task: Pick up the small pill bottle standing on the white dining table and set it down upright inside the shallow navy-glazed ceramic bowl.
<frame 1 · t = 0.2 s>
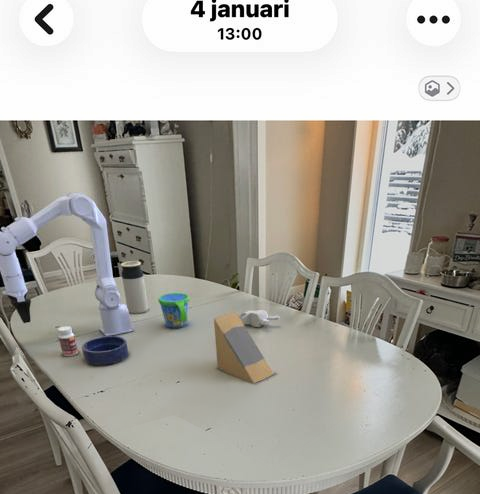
hand: (25, 319, 149), 10 cm above the table, tool pointing down, fingers open, 7 cm apart
travel mug: (138, 311, 185), on the table
snack cup: (176, 325, 169), on the table
sandwich container: (245, 371, 134), on the table
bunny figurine: (257, 325, 166), on the table
pill bottle: (70, 354, 150), on the table
bowl: (107, 357, 146), on the table
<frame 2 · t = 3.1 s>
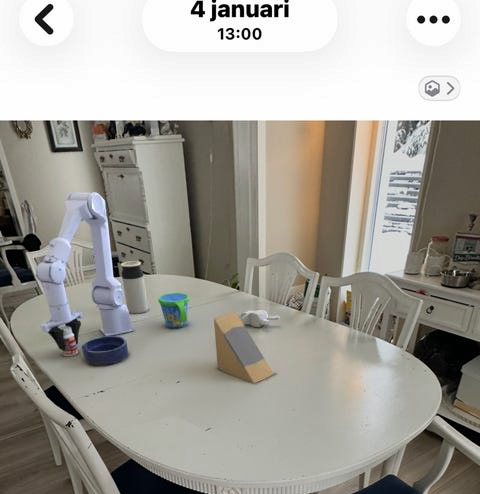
hand: (69, 346, 148), 2 cm above the table, tool pointing down, fingers closed on pill bottle, 5 cm apart
pill bottle: (70, 354, 150), on the table, touching gripper
everything else where it was.
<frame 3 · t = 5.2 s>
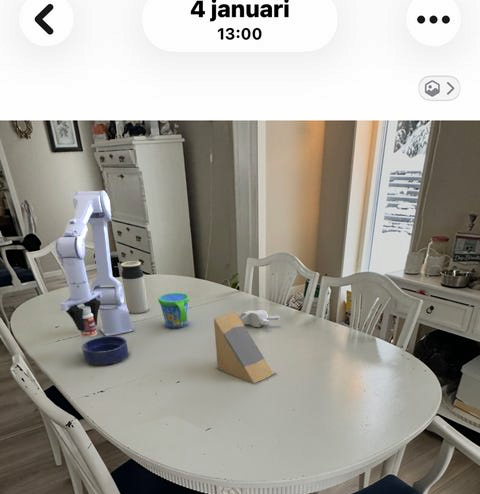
hand: (87, 327, 142), 9 cm above the table, tool pointing down, fingers closed on pill bottle, 5 cm apart
pill bottle: (89, 335, 143), point 7 cm above the table, touching gripper
everything else where it was.
when the fingers open (3 cm above the table, at t = 7.8 s): pill bottle stays where it is, resting on bowl.
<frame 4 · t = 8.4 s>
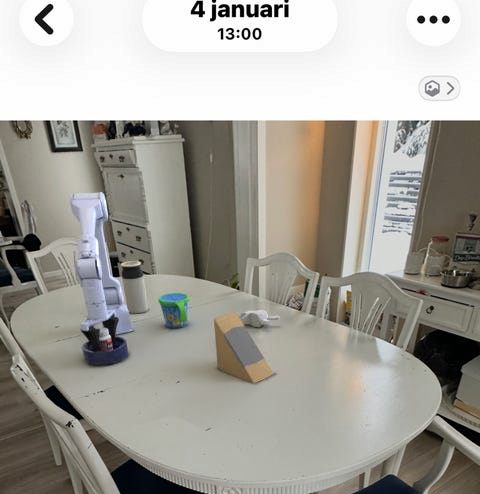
hand: (104, 345, 144), 4 cm above the table, tool pointing down, fingers open, 7 cm apart
pill bottle: (106, 356, 146), resting on bowl
everything else where it was.
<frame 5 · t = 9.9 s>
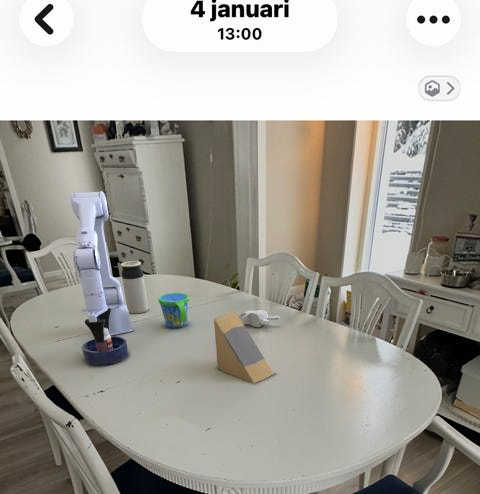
hand: (102, 337, 142), 7 cm above the table, tool pointing down, fingers open, 7 cm apart
nothing on the table moved.
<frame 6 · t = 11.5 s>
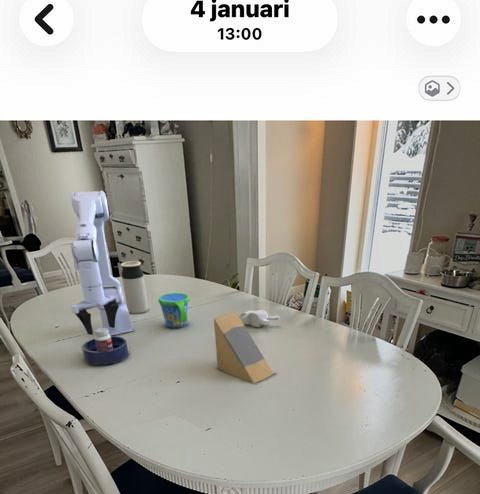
hand: (101, 330, 141), 9 cm above the table, tool pointing down, fingers open, 7 cm apart
nothing on the table moved.
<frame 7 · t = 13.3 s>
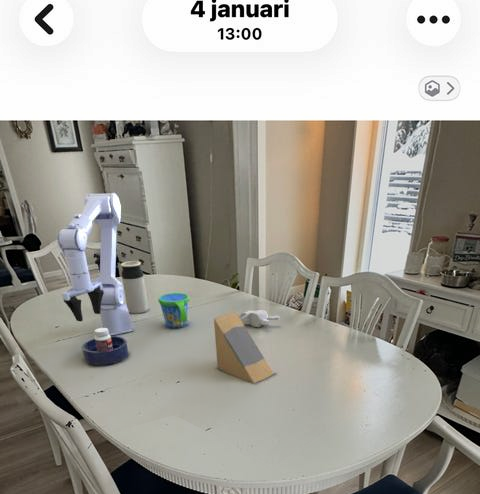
hand: (88, 317, 147), 10 cm above the table, tool pointing down, fingers open, 7 cm apart
nothing on the table moved.
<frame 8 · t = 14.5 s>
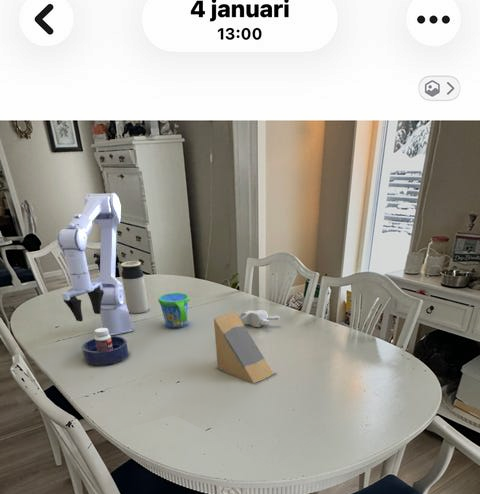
hand: (88, 317, 147), 10 cm above the table, tool pointing down, fingers open, 7 cm apart
nothing on the table moved.
at the end: pill bottle inside the target area in the bowl (0.0 cm from its centre), point 0.4 cm above the bowl's base; the gripper is holding nothing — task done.
